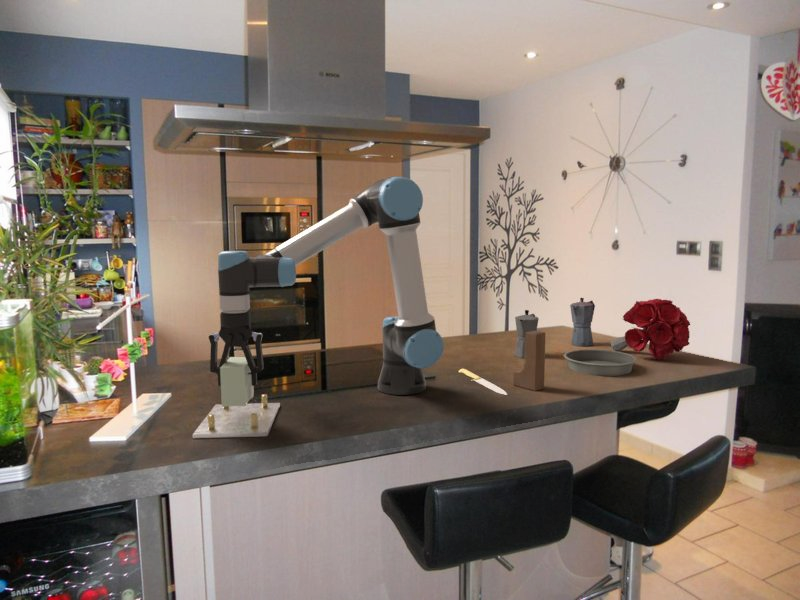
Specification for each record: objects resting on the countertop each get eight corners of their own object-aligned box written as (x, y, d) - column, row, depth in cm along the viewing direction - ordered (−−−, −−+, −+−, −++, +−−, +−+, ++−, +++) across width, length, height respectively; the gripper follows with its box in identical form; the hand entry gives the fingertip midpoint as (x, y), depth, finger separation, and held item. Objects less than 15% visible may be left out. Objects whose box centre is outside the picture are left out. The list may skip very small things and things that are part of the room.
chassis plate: (279, 406, 171) (279, 390, 170) (267, 436, 147) (266, 418, 146) (215, 407, 170) (215, 392, 169) (192, 438, 146) (191, 420, 145)
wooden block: (512, 385, 191) (513, 329, 188) (521, 382, 194) (523, 328, 191) (535, 391, 184) (536, 334, 182) (544, 388, 187) (546, 332, 184)
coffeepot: (531, 360, 224) (533, 313, 222) (508, 357, 229) (509, 311, 227) (544, 352, 237) (546, 308, 235) (522, 350, 242) (523, 306, 240)
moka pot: (562, 345, 251) (563, 298, 249) (581, 340, 262) (583, 294, 259) (582, 348, 244) (584, 300, 242) (601, 343, 255) (603, 296, 252)
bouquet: (611, 375, 228) (683, 347, 208) (587, 318, 235) (655, 285, 215) (638, 369, 242) (709, 342, 222) (615, 316, 250) (681, 285, 229)
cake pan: (594, 357, 230) (594, 346, 229) (651, 371, 209) (652, 358, 208) (548, 366, 217) (549, 354, 216) (604, 381, 196) (605, 368, 195)
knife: (497, 395, 179) (511, 392, 180) (452, 370, 209) (464, 367, 211) (498, 399, 179) (511, 396, 181) (453, 373, 209) (464, 370, 211)
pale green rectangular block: (253, 392, 164) (252, 356, 162) (245, 405, 152) (244, 367, 150) (231, 392, 163) (230, 357, 162) (221, 406, 151) (220, 367, 150)
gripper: (274, 308, 159) (276, 392, 162) (201, 309, 157) (205, 394, 160) (270, 312, 151) (272, 401, 154) (193, 313, 150) (197, 402, 153)
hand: (238, 397), depth 157 cm, fingers closed on pale green rectangular block, 6 cm apart
